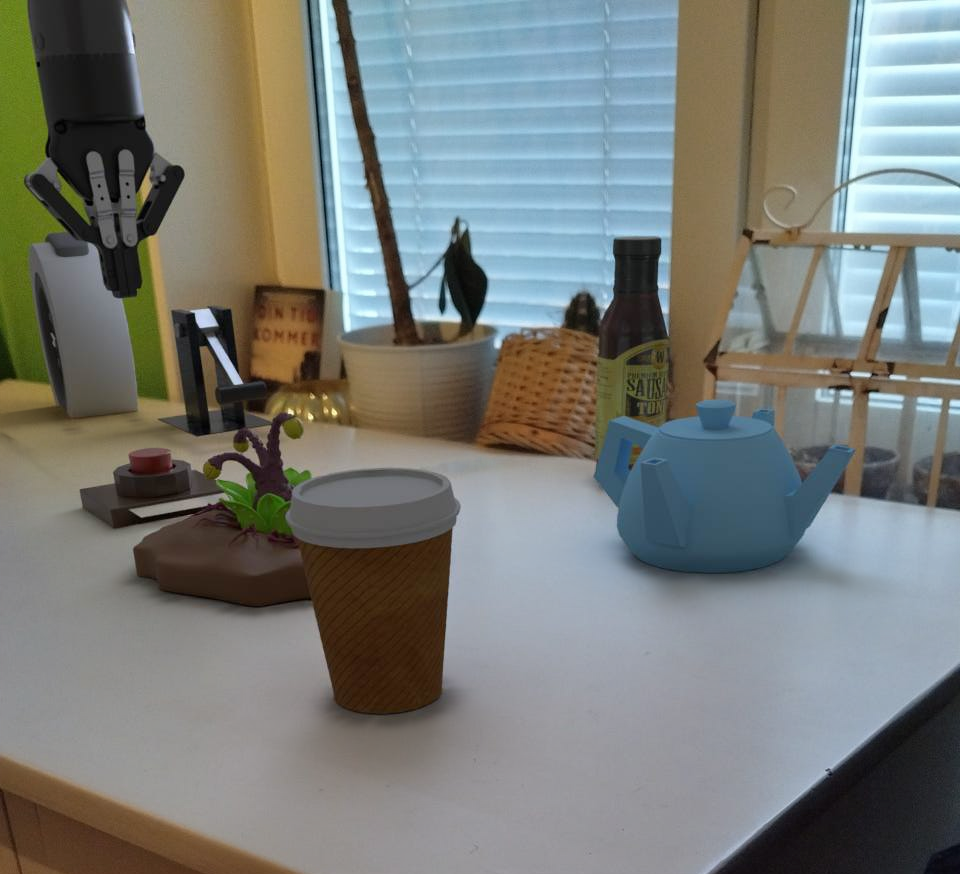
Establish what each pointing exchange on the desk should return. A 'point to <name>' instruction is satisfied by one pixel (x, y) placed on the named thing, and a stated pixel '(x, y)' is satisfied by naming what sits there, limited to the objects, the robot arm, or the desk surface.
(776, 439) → the teapot
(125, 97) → the robot arm
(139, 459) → the button
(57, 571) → the desk surface
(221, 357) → the lever
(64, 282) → the alarm clock
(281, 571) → the plant
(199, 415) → the black upright frame
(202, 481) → the button block
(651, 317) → the sauce bottle
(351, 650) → the disposable coffee cup
